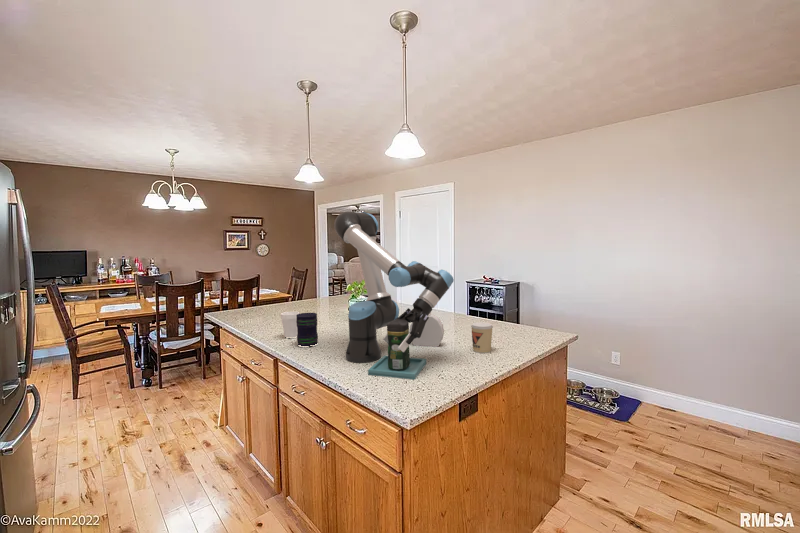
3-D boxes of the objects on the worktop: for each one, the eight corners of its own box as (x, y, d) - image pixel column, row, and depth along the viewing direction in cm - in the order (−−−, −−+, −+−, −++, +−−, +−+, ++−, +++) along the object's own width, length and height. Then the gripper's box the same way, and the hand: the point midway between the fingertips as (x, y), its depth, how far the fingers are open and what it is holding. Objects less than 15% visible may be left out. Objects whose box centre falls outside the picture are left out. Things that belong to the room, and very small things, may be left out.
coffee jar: (392, 362, 150) (392, 316, 149) (411, 363, 148) (411, 317, 147) (385, 370, 141) (384, 322, 140) (405, 372, 139) (404, 323, 137)
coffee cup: (467, 349, 169) (467, 323, 168) (484, 346, 172) (484, 321, 172) (479, 354, 160) (479, 327, 159) (496, 352, 164) (497, 325, 163)
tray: (368, 374, 139) (368, 369, 139) (384, 359, 156) (384, 355, 156) (414, 379, 133) (414, 374, 133) (426, 363, 150) (426, 358, 150)
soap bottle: (409, 345, 177) (408, 303, 175) (411, 342, 182) (411, 302, 180) (442, 347, 172) (442, 304, 171) (444, 344, 178) (443, 303, 176)
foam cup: (278, 339, 191) (277, 314, 190) (286, 335, 200) (285, 311, 199) (295, 340, 190) (294, 315, 189) (303, 335, 199) (302, 311, 198)
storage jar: (292, 345, 179) (291, 315, 178) (308, 341, 187) (307, 311, 186) (306, 349, 174) (305, 317, 173) (322, 343, 182) (321, 313, 181)
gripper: (449, 314, 139) (414, 360, 133) (415, 304, 161) (385, 343, 155) (437, 301, 136) (401, 347, 130) (404, 293, 158) (373, 332, 153)
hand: (392, 345), depth 143 cm, fingers open, 13 cm apart
